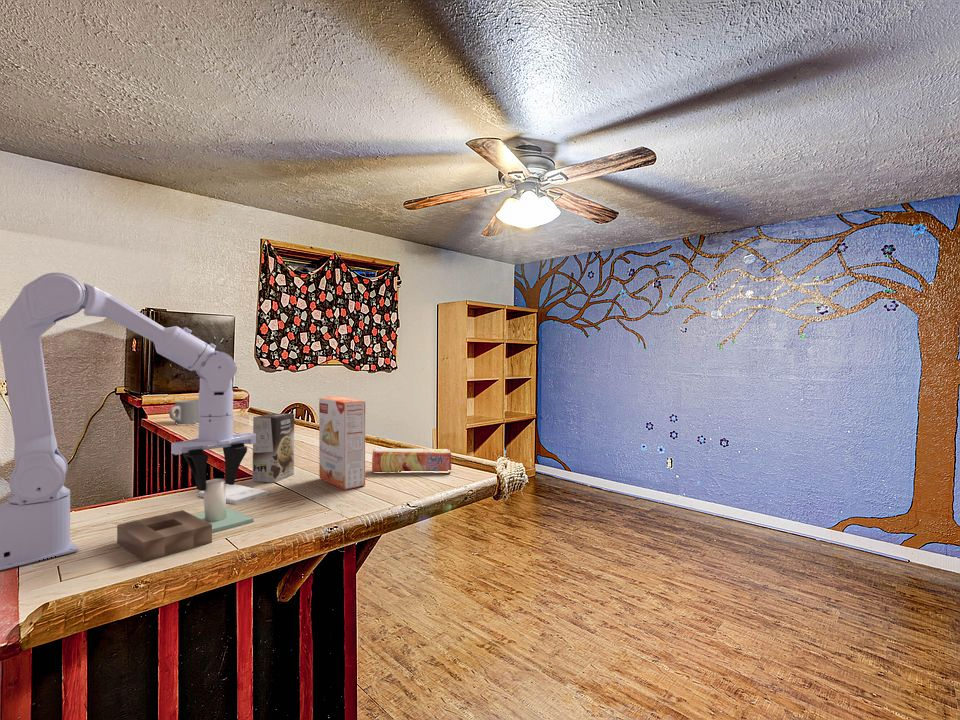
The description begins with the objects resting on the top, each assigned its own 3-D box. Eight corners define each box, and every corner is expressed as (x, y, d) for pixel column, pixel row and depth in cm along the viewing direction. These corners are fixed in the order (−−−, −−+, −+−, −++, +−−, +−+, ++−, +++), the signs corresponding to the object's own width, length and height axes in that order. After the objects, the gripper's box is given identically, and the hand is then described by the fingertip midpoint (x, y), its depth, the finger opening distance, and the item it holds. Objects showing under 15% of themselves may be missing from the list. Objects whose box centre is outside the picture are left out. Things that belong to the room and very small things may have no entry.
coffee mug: (193, 421, 222) (193, 399, 222) (206, 423, 217) (206, 400, 217) (162, 424, 211) (162, 401, 211) (174, 427, 206) (174, 403, 205)
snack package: (450, 469, 137) (451, 445, 137) (451, 475, 130) (451, 450, 130) (374, 470, 135) (374, 445, 135) (370, 476, 129) (370, 450, 128)
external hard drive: (231, 489, 116) (268, 497, 110) (198, 498, 109) (235, 507, 103) (231, 482, 116) (268, 489, 110) (198, 491, 109) (235, 499, 103)
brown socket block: (143, 561, 75) (143, 542, 75) (117, 542, 82) (117, 524, 82) (211, 542, 83) (212, 524, 82) (182, 526, 90) (182, 510, 90)
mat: (203, 535, 86) (203, 531, 86) (177, 521, 92) (177, 518, 92) (253, 521, 93) (253, 518, 93) (226, 509, 100) (226, 506, 100)
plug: (210, 523, 90) (208, 485, 90) (201, 518, 92) (199, 482, 92) (230, 517, 93) (228, 480, 92) (221, 513, 95) (219, 477, 95)
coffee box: (275, 483, 120) (275, 417, 120) (251, 481, 121) (251, 416, 121) (295, 474, 129) (295, 413, 129) (272, 472, 130) (272, 412, 130)
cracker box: (317, 479, 124) (318, 396, 124) (339, 475, 128) (340, 395, 128) (342, 491, 114) (343, 401, 113) (366, 486, 118) (366, 399, 117)
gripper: (182, 420, 84) (182, 499, 84) (264, 413, 96) (263, 482, 96) (166, 417, 88) (166, 492, 89) (246, 410, 100) (245, 476, 100)
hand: (215, 486), depth 93 cm, fingers open, 5 cm apart
